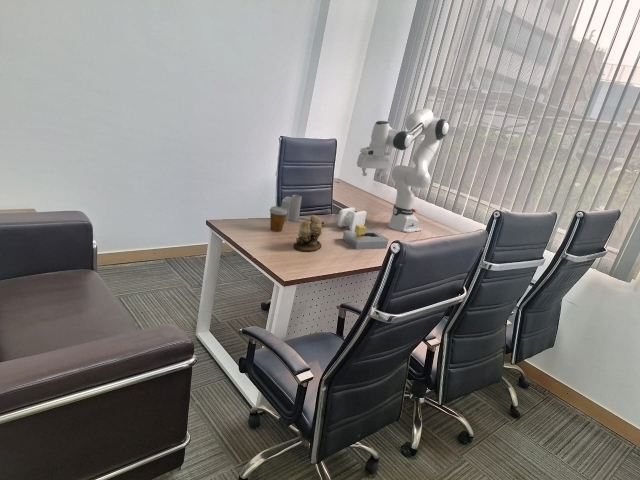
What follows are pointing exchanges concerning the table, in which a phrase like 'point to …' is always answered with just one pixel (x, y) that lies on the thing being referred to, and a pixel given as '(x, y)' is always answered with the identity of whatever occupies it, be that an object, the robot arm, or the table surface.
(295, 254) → the table surface
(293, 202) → the electronic device
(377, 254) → the table surface
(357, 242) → the keyhole plate
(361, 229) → the peg
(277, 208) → the disposable coffee cup
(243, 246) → the table surface
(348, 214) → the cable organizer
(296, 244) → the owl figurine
